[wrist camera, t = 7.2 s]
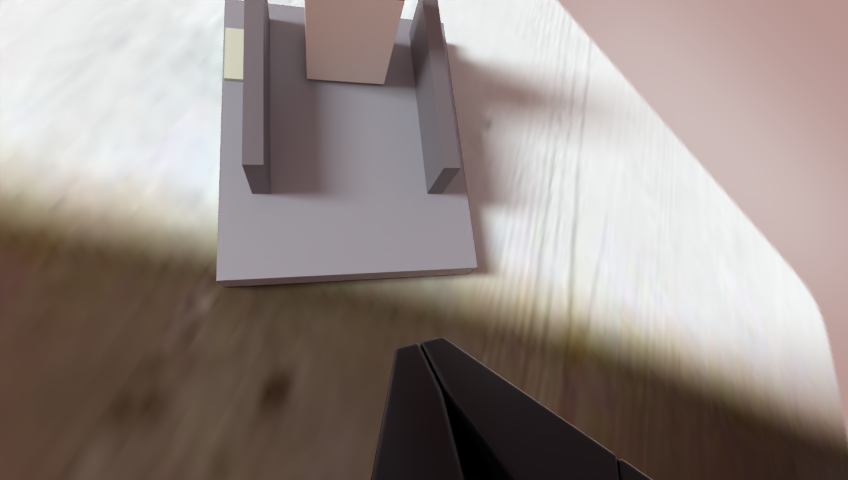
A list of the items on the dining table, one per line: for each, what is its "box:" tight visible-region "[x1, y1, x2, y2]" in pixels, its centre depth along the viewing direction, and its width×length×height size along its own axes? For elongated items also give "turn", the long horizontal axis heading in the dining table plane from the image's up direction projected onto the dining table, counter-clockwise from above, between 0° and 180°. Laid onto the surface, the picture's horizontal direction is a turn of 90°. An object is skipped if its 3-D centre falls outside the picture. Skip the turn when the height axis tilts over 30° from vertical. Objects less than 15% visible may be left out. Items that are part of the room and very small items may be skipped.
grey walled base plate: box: [216, 0, 478, 287], centre depth 21 cm, size 15×12×4 cm
